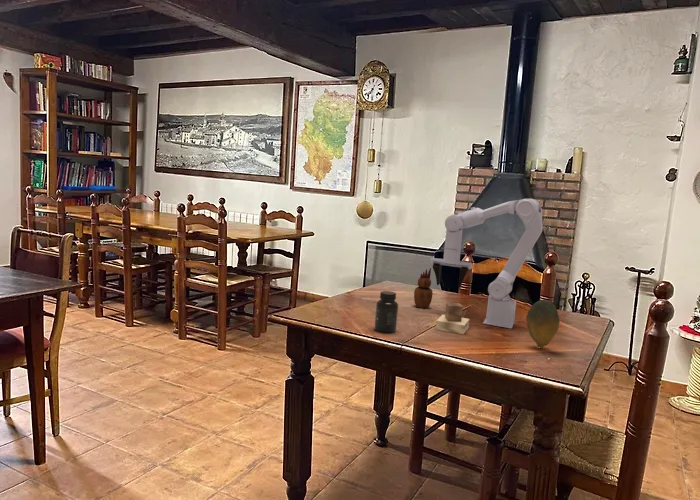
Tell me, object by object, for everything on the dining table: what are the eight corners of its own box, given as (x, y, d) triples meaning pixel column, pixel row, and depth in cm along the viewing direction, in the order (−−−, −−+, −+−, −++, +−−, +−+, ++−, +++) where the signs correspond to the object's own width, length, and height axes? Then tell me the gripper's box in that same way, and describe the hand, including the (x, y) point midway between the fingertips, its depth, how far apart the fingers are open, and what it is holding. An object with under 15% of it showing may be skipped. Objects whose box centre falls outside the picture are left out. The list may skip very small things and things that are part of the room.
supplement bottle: (370, 327, 166) (373, 290, 165) (390, 326, 169) (393, 290, 167) (379, 333, 160) (382, 295, 158) (399, 333, 163) (403, 295, 161)
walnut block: (458, 318, 174) (459, 303, 173) (461, 321, 169) (462, 306, 169) (445, 317, 174) (446, 302, 173) (447, 320, 169) (449, 305, 168)
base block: (468, 327, 174) (469, 318, 174) (463, 334, 166) (464, 325, 165) (441, 323, 177) (442, 314, 177) (435, 329, 169) (436, 320, 169)
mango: (558, 351, 156) (565, 301, 154) (550, 355, 152) (557, 304, 149) (527, 342, 162) (533, 294, 160) (518, 346, 158) (524, 297, 156)
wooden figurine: (431, 306, 200) (434, 267, 198) (431, 309, 194) (435, 269, 192) (413, 304, 201) (416, 265, 199) (412, 307, 195) (416, 268, 193)
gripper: (475, 249, 188) (471, 287, 190) (435, 245, 193) (431, 281, 195) (471, 252, 181) (467, 290, 183) (430, 247, 187) (427, 284, 189)
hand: (448, 286), depth 189 cm, fingers open, 7 cm apart
